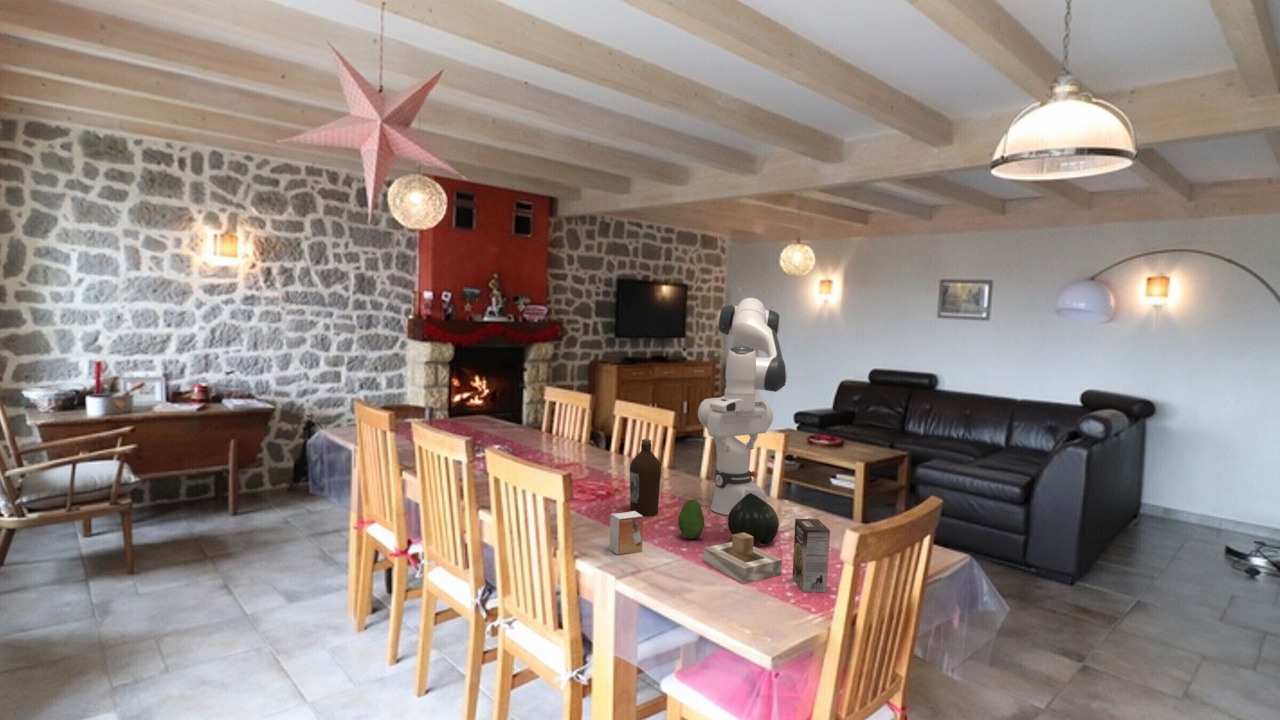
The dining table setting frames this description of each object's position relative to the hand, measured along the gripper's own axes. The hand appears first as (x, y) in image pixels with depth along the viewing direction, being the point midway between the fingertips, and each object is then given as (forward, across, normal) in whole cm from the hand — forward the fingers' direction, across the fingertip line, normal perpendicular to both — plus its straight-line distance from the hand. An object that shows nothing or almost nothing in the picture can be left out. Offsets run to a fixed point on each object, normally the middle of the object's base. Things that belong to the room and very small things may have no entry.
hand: (737, 450), depth 200 cm
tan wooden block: (+29, +8, +13) cm, 33 cm away
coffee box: (+29, 0, +30) cm, 42 cm away
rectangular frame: (+29, +8, +13) cm, 33 cm away
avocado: (+29, +6, -13) cm, 33 cm away
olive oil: (+29, +5, -41) cm, 51 cm away
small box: (+29, +29, -13) cm, 43 cm away
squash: (+29, -9, -2) cm, 31 cm away
